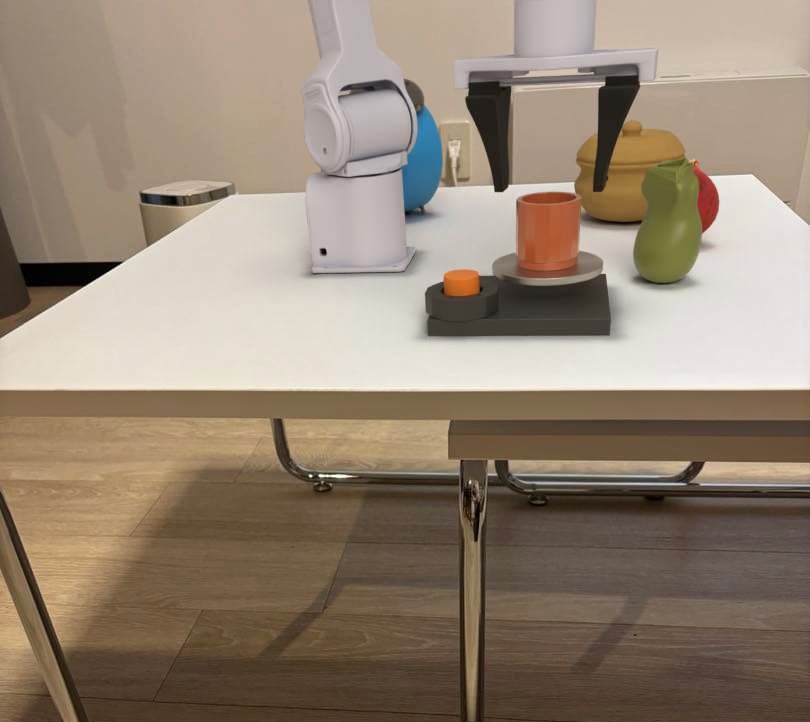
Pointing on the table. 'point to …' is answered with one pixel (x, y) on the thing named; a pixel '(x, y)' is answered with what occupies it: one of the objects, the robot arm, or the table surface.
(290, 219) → the table surface
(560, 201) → the orange plastic cup
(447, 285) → the tare button
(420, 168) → the alarm clock
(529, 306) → the scale
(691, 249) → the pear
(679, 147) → the pot
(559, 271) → the scale pan
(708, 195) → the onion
